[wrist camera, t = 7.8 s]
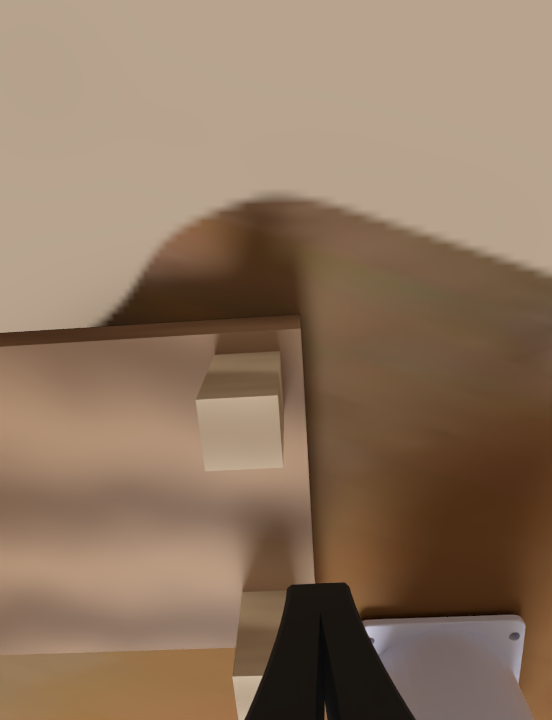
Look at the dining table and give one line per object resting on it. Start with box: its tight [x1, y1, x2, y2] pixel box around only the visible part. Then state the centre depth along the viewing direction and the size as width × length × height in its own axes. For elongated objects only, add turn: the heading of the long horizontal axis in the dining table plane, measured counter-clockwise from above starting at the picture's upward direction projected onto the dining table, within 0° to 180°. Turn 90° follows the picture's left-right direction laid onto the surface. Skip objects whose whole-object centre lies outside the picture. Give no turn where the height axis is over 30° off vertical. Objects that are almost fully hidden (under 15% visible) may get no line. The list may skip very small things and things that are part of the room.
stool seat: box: [0, 314, 315, 720], centre depth 20 cm, size 15×19×6 cm
